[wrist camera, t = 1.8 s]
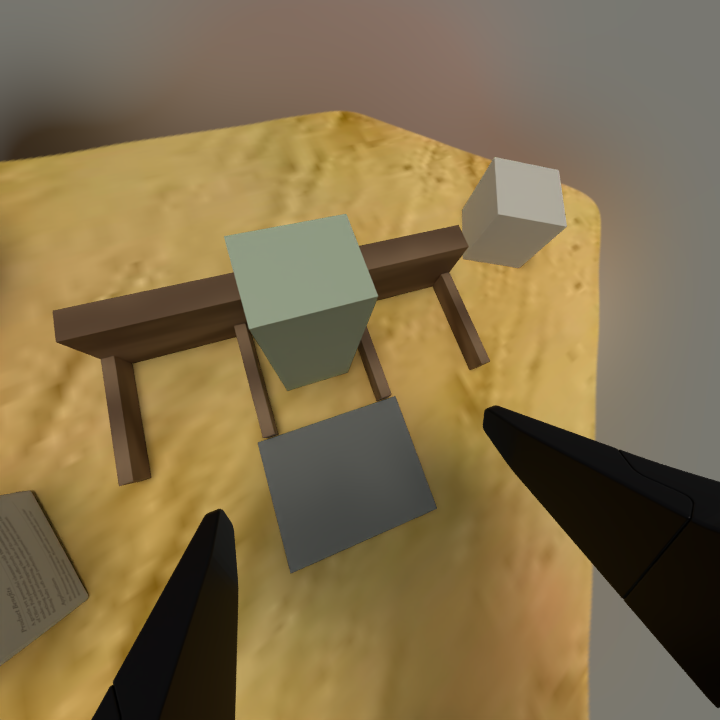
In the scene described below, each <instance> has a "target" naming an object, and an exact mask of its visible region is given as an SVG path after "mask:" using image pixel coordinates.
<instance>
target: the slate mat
mask: <svg viewBox="0 0 720 720" xmlns="http://www.w3.org/2000/svg"><path fill="white" fill-rule="evenodd" d="M258 446H259V450H260V454H261V458H262V462H263V466H264V470H265V474H266V478H267V482H268V486H269V490H270V493H271V497H272V501H273V505H274V509H275V513H276V517H277V521H278V525H279V529H280V533H281V537H282V541H283V545H284V549H285V553H286V557H287V561H288V565H289V568H290V572H291V573H293V572H295V571H297V570H300V569H302V568H304V567H306V566H309V565H311V564H313V563H315V562H318V561H320V560H322V559H324V558H327V557H329V556H331V555H333V554H336V553H338V552H340V551H342V550H345V549H347V548H349V547H351V546H354V545H356V544H358V543H361V542H363V541H365V540H367V539H370V538H372V537H374V536H376V535H379V534H381V533H383V532H385V531H388V530H390V529H392V528H394V527H397V526H399V525H401V524H403V523H406V522H408V521H410V520H412V519H415V518H417V517H419V516H421V515H424V514H426V513H428V512H430V511H433V510H435V509H437V507H436V504H435V501H434V499H433V496H432V493H431V491H430V488H429V485H428V483H427V480H426V477H425V475H424V472H423V469H422V467H421V464H420V461H419V458H418V456H417V453H416V450H415V448H414V445H413V442H412V440H411V437H410V434H409V432H408V429H407V426H406V423H405V421H404V418H403V415H402V413H401V410H400V407H399V405H398V402H397V399H396V397H395V396H394V397H391V398H388V399H385V400H382V401H379V402H376V403H373V404H370V405H367V406H365V407H362V408H359V409H356V410H353V411H350V412H347V413H344V414H341V415H338V416H335V417H332V418H329V419H326V420H323V421H320V422H317V423H314V424H311V425H308V426H305V427H302V428H300V429H297V430H294V431H291V432H288V433H285V434H282V435H279V436H276V437H273V438H270V439H267V440H264V441H261V442H258Z"/></svg>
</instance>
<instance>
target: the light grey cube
mask: <svg viewBox="0 0 720 720" xmlns="http://www.w3.org/2000/svg"><path fill="white" fill-rule="evenodd" d="M566 227H567V224H566V217H565V210H564V203H563V196H562V189H561V182H560V175H559V171H558V170H555V169H550V168H545V167H540V166H536V165H531V164H526V163H521V162H516V161H510V160H506V159H501V158H497V157H494V159H493V160H492V162H491V164H490V165H489V167H488V169H487V170H486V172H485V173H484V175H483V177H482V178H481V180H480V182H479V183H478V185H477V186H476V188H475V190H474V191H473V193H472V195H471V196H470V198H469V199H468V201H467V203H466V204H465V206H464V208H463V209H462V233H463V235H464V237H465V240H466V242H467V244H468V246H469V247H468V248H467V250H466V251H465V252H464V254H463V259H466V260H472V261H478V262H484V263H490V264H497V265H503V266H509V267H515V268H520V267H521V266H522V265H523V264H525V263H526V262H527V261H528V260H529V259H530V258H531V257H533V256H534V255H535V254H536V253H537V252H538V251H539V250H541V249H542V248H543V247H544V246H545V245H546V244H547V243H549V242H550V241H551V240H552V239H553V238H554V237H556V236H557V235H558V234H559V233H560V232H561V231H562V230H564V229H565V228H566Z"/></svg>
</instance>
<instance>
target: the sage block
mask: <svg viewBox="0 0 720 720" xmlns="http://www.w3.org/2000/svg"><path fill="white" fill-rule="evenodd" d="M224 238H225V242H226V246H227V249H228V253H229V257H230V260H231V264H232V268H233V271H234V275H235V279H236V283H237V286H238V290H239V294H240V297H241V301H242V305H243V308H244V312H245V316H246V320H247V323H248V327H249V330H250V331H251V333H252V335H253V336H254V338H255V339H256V341H257V343H258V344H259V346H260V347H261V349H262V351H263V352H264V354H265V356H266V357H267V359H268V360H269V362H270V364H271V365H272V367H273V368H274V370H275V372H276V373H277V375H278V376H279V378H280V380H281V381H282V383H283V384H284V386H285V388H286V389H287V391H289V390H292V389H295V388H299V387H302V386H305V385H308V384H312V383H315V382H318V381H321V380H325V379H328V378H331V377H334V376H338V375H341V374H344V373H347V372H348V370H349V368H350V365H351V363H352V360H353V358H354V355H355V353H356V350H357V348H358V345H359V343H360V340H361V338H362V335H363V333H364V330H365V328H366V325H367V323H368V320H369V318H370V316H371V313H372V311H373V308H374V306H375V303H376V301H377V298H378V294H377V292H376V289H375V287H374V284H373V281H372V279H371V276H370V274H369V271H368V269H367V266H366V264H365V261H364V258H363V256H362V253H361V251H360V248H359V246H358V243H357V240H356V238H355V235H354V233H353V230H352V228H351V225H350V222H349V220H348V217H347V215H346V214H343V215H338V216H332V217H327V218H321V219H316V220H311V221H305V222H300V223H294V224H289V225H283V226H278V227H273V228H267V229H262V230H256V231H251V232H245V233H240V234H234V235H229V236H224Z"/></svg>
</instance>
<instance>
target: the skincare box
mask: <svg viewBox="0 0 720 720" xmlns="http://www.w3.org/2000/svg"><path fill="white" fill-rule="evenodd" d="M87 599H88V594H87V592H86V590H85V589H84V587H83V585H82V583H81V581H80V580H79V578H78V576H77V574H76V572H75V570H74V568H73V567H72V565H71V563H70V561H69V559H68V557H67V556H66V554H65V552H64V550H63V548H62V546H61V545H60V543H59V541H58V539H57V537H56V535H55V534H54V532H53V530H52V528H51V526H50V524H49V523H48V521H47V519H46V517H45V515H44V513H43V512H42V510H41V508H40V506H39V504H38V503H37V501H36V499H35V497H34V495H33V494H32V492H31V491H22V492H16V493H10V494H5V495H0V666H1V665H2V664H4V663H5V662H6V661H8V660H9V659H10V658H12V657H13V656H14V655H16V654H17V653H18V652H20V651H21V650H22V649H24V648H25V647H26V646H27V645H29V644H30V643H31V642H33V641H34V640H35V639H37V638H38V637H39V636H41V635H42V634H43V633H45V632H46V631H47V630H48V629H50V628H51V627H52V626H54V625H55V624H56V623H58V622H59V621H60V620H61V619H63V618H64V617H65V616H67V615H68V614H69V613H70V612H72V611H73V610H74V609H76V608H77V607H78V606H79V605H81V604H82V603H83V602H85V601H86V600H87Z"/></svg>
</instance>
